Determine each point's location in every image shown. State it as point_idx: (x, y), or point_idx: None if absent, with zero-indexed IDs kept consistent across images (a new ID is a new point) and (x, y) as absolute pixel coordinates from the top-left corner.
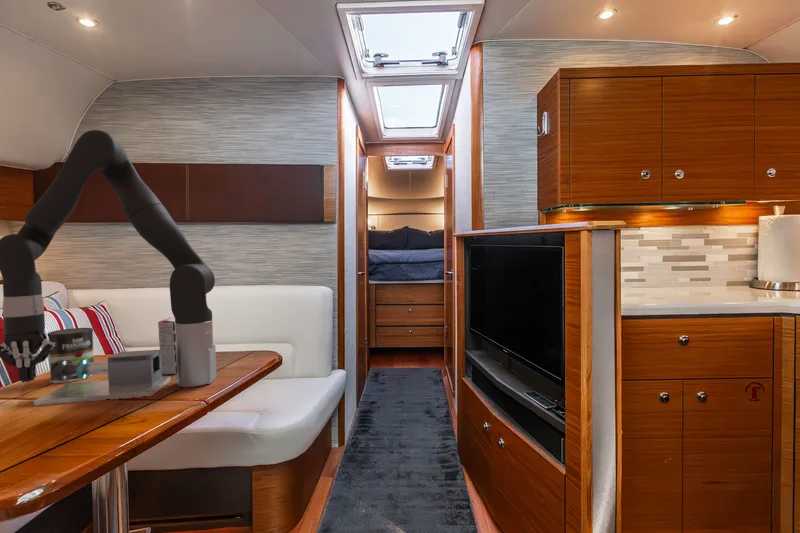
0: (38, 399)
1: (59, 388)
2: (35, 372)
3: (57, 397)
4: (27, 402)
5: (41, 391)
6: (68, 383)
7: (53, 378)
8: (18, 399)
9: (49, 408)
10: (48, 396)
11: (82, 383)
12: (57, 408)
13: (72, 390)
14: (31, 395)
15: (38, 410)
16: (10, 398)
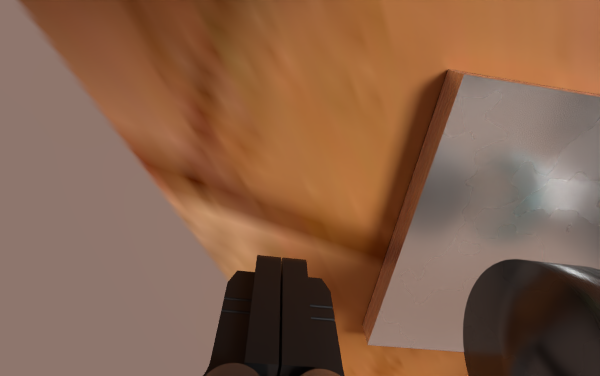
0: (381, 336)
1: (431, 191)
2: (332, 318)
3: (456, 335)
4: (310, 274)
5: (290, 90)
6: (464, 80)
7: (472, 364)
8: (233, 212)
9: (432, 365)
10: (411, 310)
11: (556, 126)
12: (459, 372)
13: (508, 257)
14: (268, 161)
15: (399, 372)
16: (170, 176)
